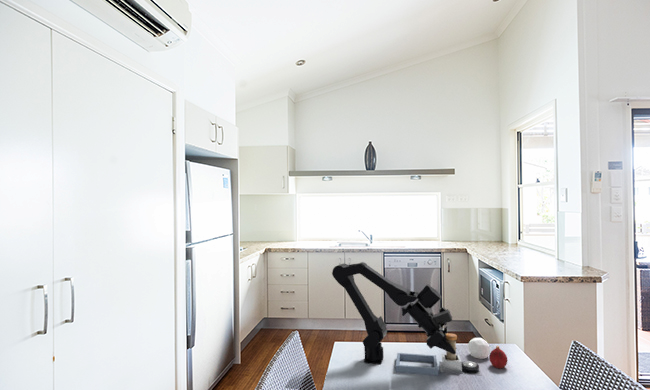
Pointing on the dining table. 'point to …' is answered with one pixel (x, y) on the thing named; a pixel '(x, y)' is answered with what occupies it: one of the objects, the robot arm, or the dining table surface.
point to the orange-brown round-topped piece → (452, 341)
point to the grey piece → (458, 366)
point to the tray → (416, 368)
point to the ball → (478, 348)
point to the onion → (498, 358)
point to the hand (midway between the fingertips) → (455, 351)
